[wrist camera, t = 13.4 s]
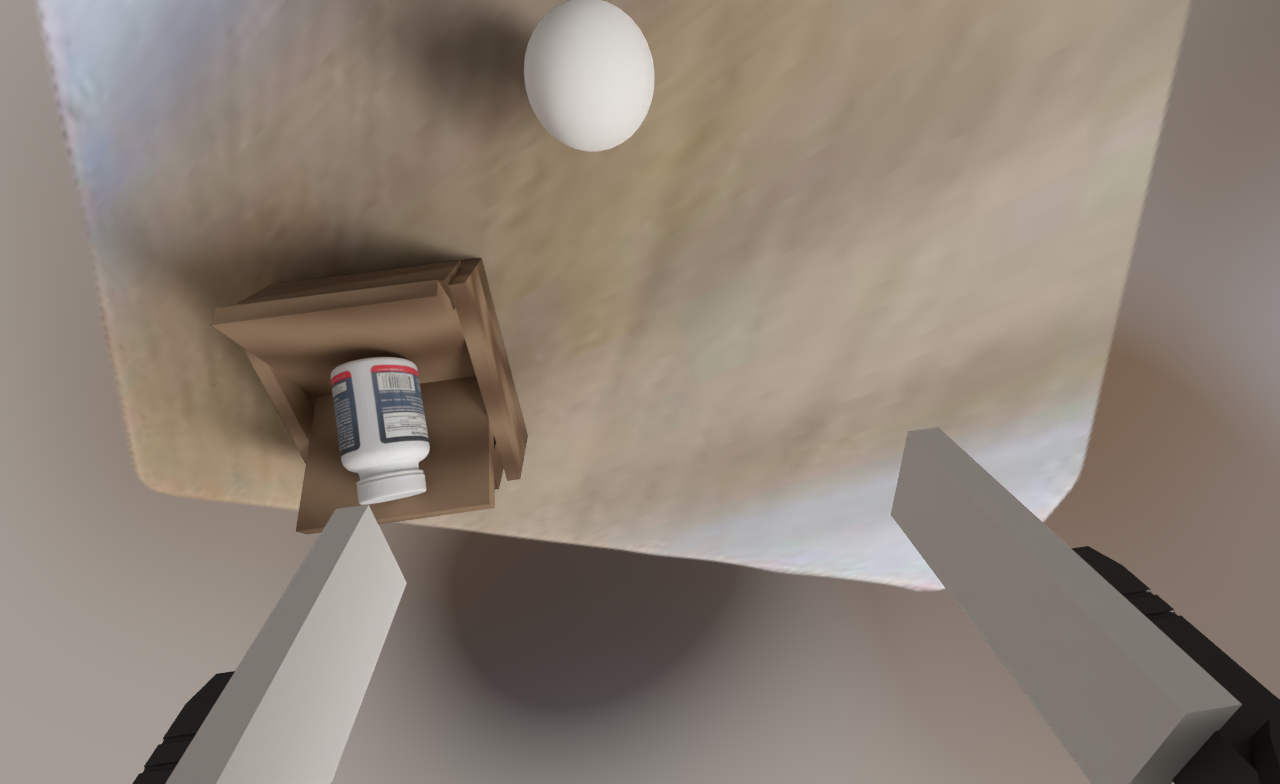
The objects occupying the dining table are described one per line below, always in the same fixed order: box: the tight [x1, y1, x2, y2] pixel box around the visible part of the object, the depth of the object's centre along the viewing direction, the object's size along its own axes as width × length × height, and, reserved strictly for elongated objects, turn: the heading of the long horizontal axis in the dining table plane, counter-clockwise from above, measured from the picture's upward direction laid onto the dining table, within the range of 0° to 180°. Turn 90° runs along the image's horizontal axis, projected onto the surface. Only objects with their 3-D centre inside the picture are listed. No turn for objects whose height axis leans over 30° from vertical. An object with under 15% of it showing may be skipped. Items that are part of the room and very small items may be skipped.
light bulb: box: [524, 0, 654, 151], centre depth 28 cm, size 7×7×11 cm
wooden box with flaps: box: [211, 258, 528, 534], centre depth 36 cm, size 17×15×11 cm
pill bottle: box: [331, 357, 430, 505], centre depth 33 cm, size 5×5×9 cm
